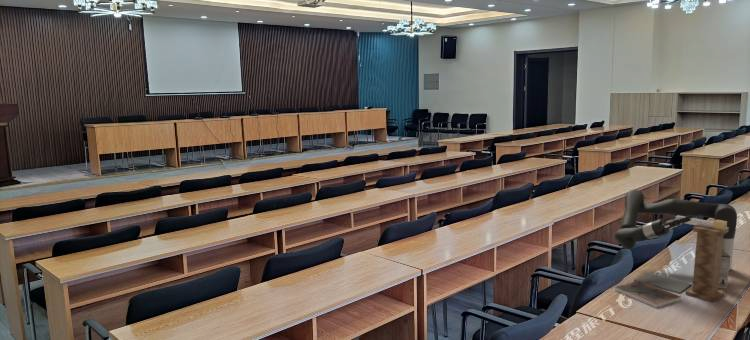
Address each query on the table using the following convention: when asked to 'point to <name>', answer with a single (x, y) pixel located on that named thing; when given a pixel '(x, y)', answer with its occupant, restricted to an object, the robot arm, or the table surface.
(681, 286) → the rubber mat
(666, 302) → the picture frame
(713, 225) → the steel bar
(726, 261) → the coffee box
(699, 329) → the table surface
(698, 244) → the walnut stand
